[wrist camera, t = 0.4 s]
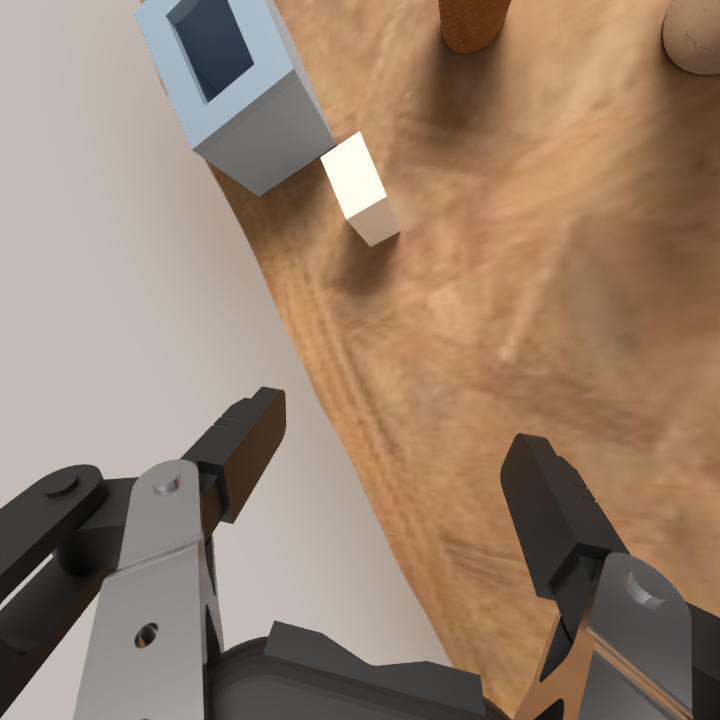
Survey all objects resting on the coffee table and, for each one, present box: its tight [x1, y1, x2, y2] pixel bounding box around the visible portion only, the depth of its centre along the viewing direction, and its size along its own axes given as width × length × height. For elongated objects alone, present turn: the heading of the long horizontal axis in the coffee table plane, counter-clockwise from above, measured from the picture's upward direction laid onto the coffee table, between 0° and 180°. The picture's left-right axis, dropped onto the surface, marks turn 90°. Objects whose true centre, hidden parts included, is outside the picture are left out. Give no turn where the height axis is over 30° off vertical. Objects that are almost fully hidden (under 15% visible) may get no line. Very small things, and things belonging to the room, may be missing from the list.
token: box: [320, 131, 400, 247], centre depth 30 cm, size 6×4×10 cm, turn 24°
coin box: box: [133, 0, 337, 197], centre depth 31 cm, size 14×12×11 cm
